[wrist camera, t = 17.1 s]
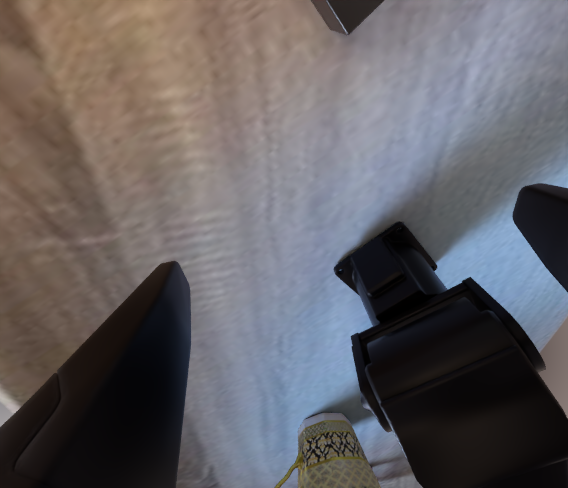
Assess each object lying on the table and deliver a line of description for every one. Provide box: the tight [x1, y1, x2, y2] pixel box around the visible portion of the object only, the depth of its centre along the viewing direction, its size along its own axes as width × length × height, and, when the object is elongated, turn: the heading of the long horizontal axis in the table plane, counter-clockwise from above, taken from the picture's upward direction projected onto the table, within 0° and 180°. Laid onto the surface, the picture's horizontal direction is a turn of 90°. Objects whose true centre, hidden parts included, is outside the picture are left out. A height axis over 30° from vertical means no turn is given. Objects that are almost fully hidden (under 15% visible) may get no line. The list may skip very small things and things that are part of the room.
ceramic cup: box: [275, 413, 381, 488], centre depth 39 cm, size 13×10×10 cm
